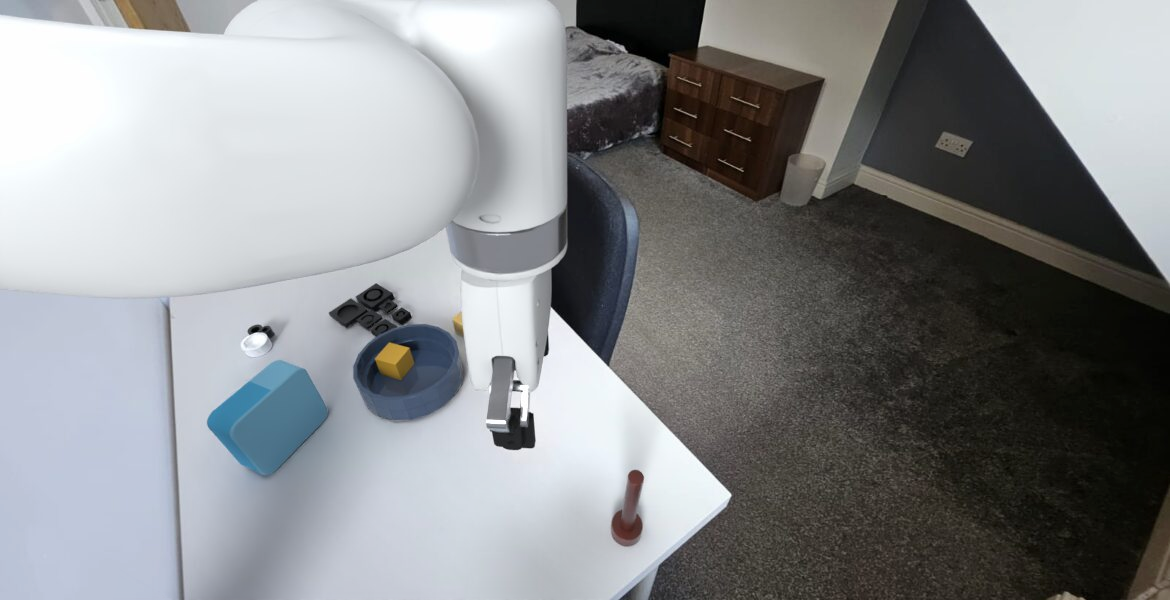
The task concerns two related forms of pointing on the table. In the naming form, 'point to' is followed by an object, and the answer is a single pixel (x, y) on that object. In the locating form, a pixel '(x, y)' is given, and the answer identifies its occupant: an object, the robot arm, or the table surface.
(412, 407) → the bowl
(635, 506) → the red capped peg
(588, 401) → the table surface
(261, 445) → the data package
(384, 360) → the block
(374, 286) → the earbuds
